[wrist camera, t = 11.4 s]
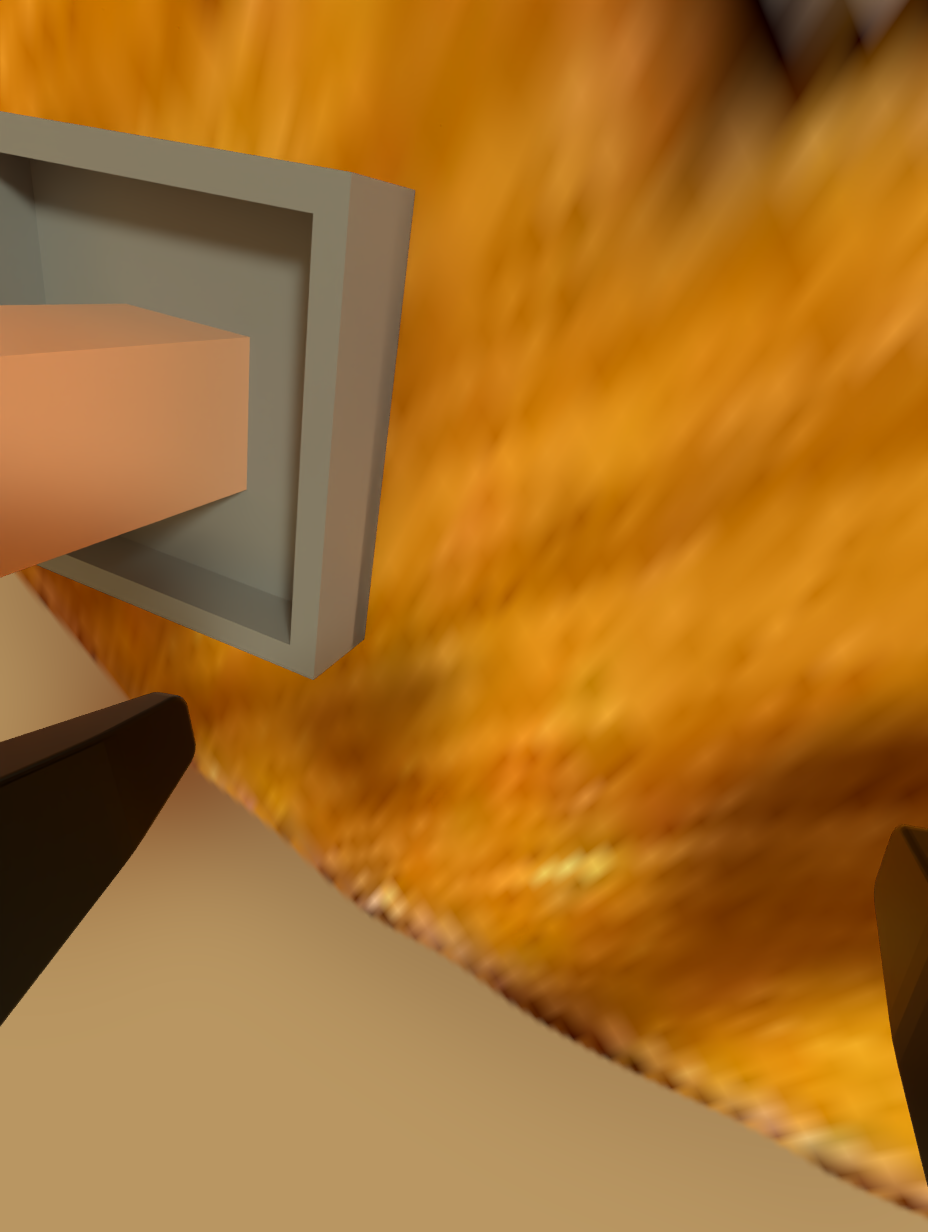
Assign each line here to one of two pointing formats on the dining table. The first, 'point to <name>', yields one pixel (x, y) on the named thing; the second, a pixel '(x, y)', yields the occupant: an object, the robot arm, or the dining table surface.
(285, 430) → the tote
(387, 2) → the dining table surface
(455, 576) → the dining table surface
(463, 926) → the dining table surface
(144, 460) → the carton
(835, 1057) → the dining table surface
